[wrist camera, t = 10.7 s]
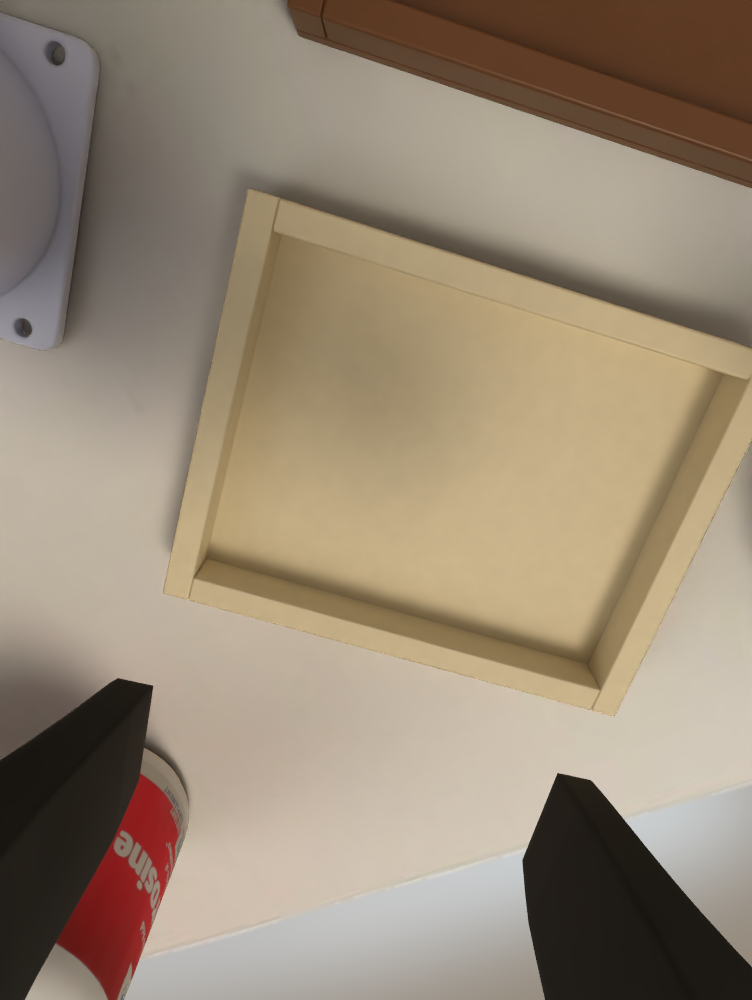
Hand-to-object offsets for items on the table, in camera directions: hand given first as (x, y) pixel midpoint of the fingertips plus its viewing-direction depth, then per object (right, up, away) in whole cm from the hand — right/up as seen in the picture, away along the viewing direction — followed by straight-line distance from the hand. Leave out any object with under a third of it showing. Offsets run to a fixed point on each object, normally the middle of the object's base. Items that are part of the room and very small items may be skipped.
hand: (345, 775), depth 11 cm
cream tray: (+3, +6, +9) cm, 11 cm away
